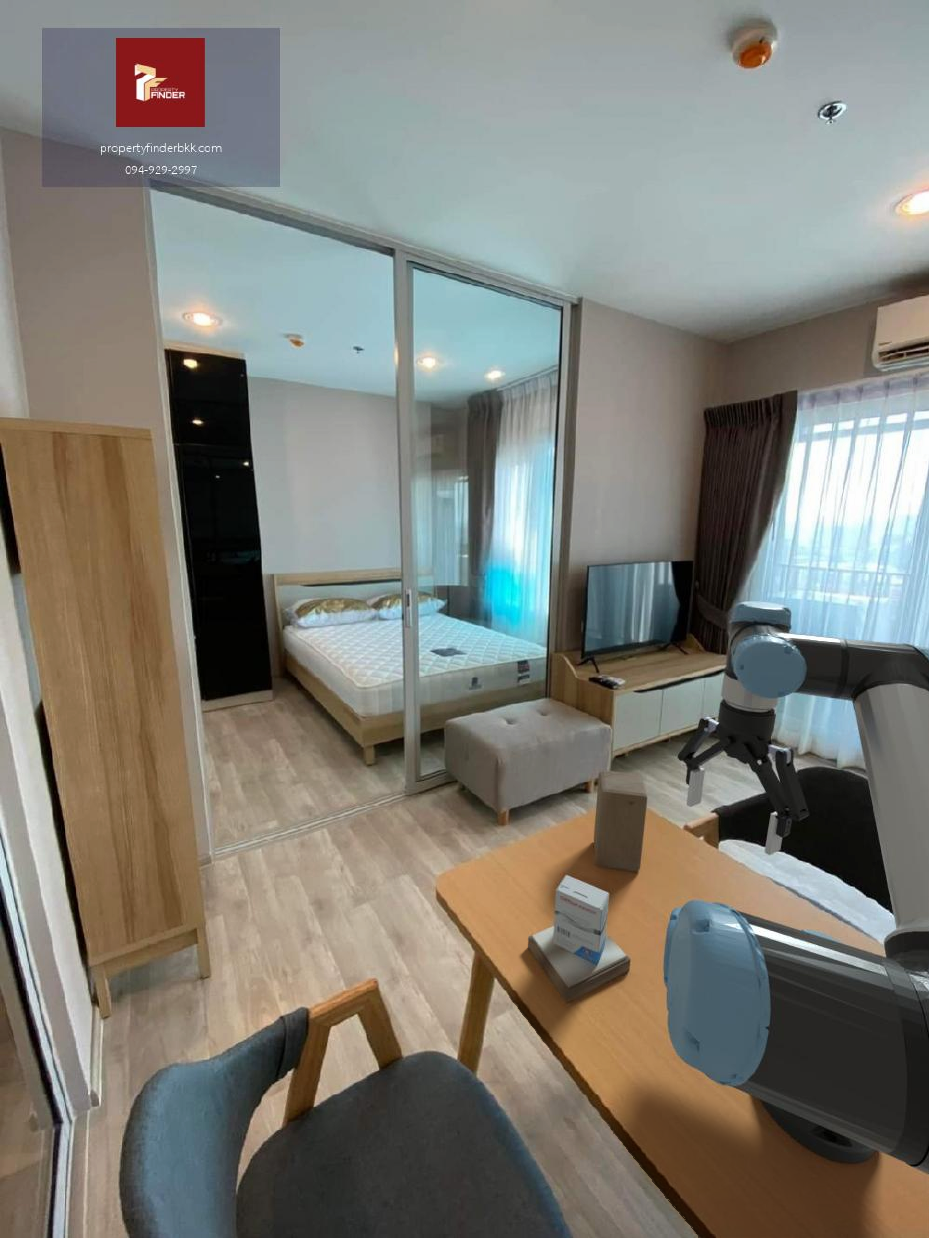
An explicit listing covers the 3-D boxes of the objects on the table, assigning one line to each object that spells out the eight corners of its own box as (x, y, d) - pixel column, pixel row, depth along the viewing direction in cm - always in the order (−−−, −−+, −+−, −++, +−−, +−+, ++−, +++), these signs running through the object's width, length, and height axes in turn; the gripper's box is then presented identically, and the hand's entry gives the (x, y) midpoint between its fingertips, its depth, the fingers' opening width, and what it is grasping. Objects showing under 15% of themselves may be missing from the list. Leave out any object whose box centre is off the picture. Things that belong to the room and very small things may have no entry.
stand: (629, 970, 89) (630, 956, 89) (567, 1003, 83) (568, 988, 83) (586, 921, 100) (586, 908, 99) (527, 947, 94) (528, 934, 93)
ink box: (605, 946, 91) (610, 891, 88) (597, 966, 87) (602, 910, 84) (561, 925, 95) (565, 872, 93) (551, 943, 91) (555, 889, 88)
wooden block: (640, 874, 113) (648, 796, 108) (595, 867, 115) (601, 790, 110) (634, 845, 122) (642, 772, 118) (593, 839, 124) (598, 768, 120)
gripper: (854, 730, 66) (827, 866, 71) (693, 675, 88) (680, 782, 92) (824, 741, 63) (797, 884, 67) (664, 681, 84) (652, 793, 89)
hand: (730, 826), depth 80 cm, fingers open, 13 cm apart
